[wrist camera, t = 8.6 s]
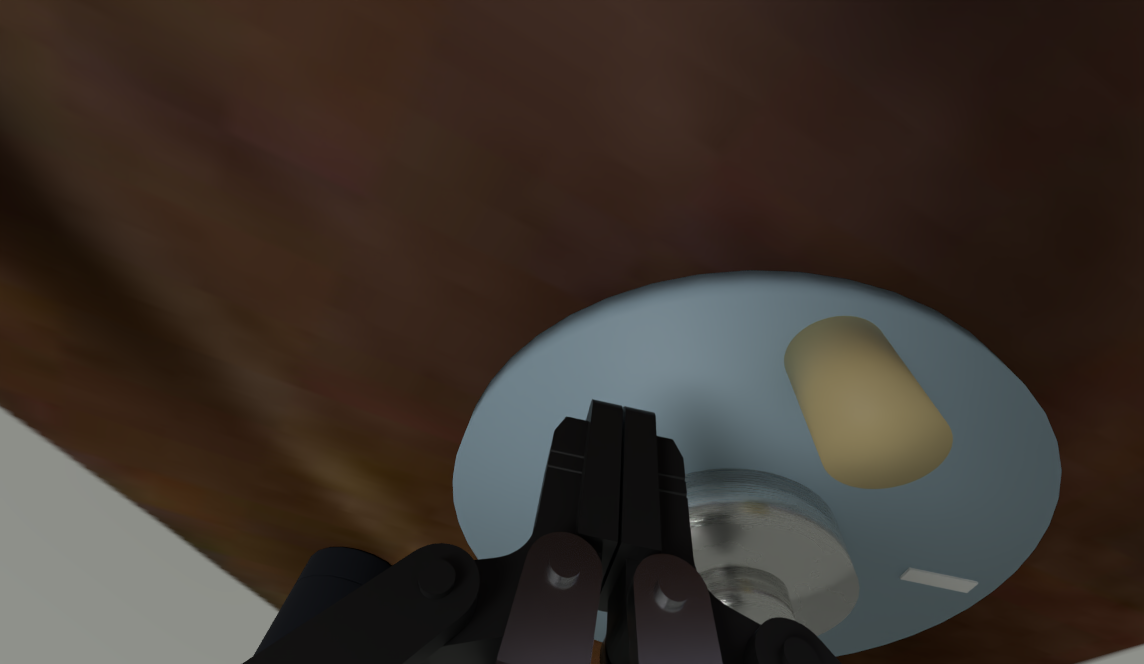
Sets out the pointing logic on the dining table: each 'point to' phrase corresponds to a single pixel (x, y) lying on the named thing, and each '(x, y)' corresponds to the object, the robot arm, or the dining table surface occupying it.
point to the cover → (770, 548)
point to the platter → (794, 428)
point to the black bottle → (323, 587)
